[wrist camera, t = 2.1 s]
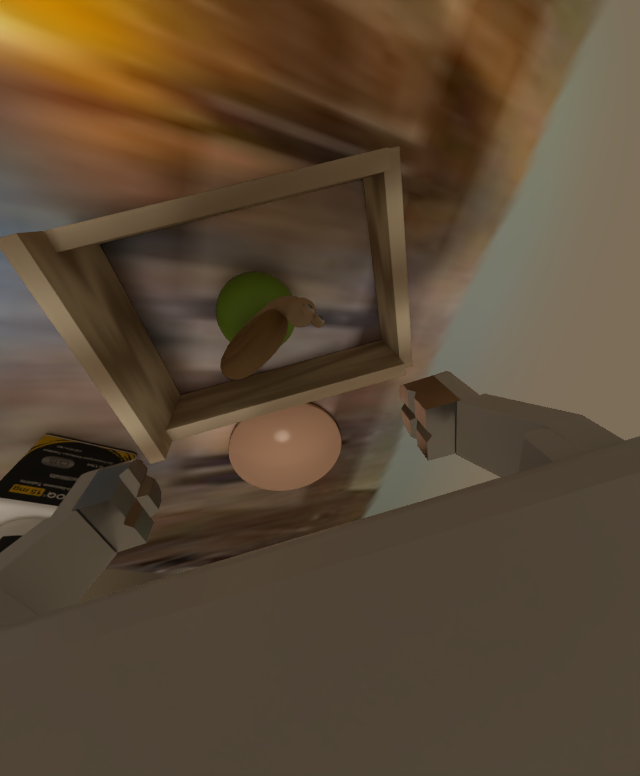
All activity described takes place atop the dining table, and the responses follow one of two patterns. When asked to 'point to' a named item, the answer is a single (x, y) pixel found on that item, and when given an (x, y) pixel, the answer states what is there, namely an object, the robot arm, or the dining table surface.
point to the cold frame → (133, 345)
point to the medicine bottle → (47, 481)
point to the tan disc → (285, 447)
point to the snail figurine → (258, 320)
